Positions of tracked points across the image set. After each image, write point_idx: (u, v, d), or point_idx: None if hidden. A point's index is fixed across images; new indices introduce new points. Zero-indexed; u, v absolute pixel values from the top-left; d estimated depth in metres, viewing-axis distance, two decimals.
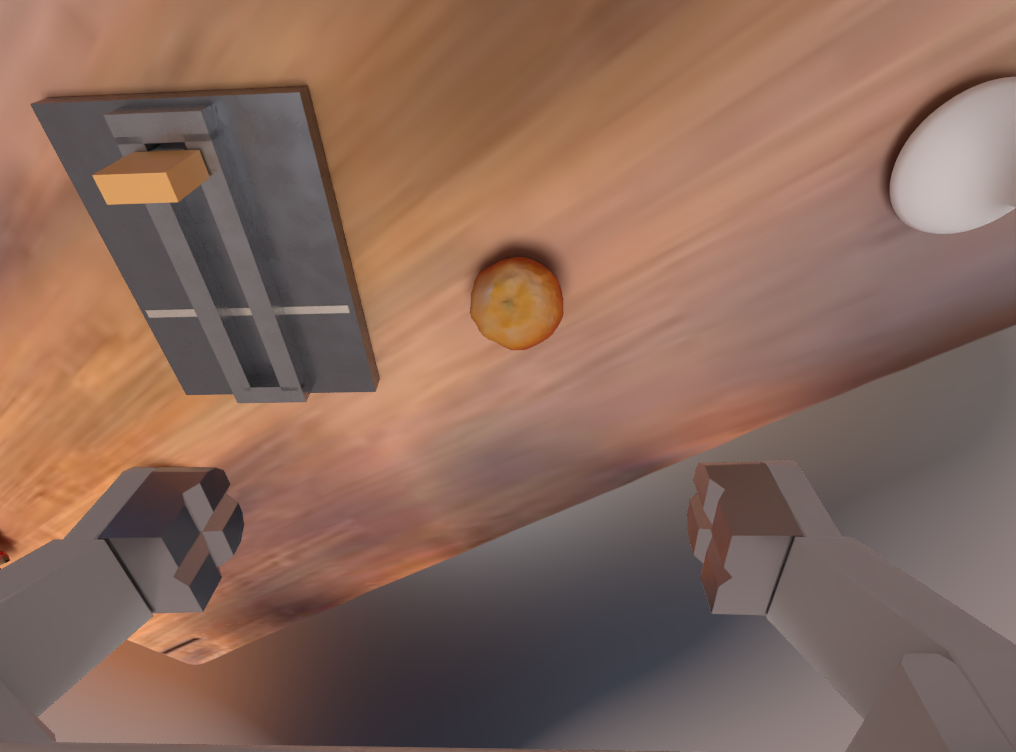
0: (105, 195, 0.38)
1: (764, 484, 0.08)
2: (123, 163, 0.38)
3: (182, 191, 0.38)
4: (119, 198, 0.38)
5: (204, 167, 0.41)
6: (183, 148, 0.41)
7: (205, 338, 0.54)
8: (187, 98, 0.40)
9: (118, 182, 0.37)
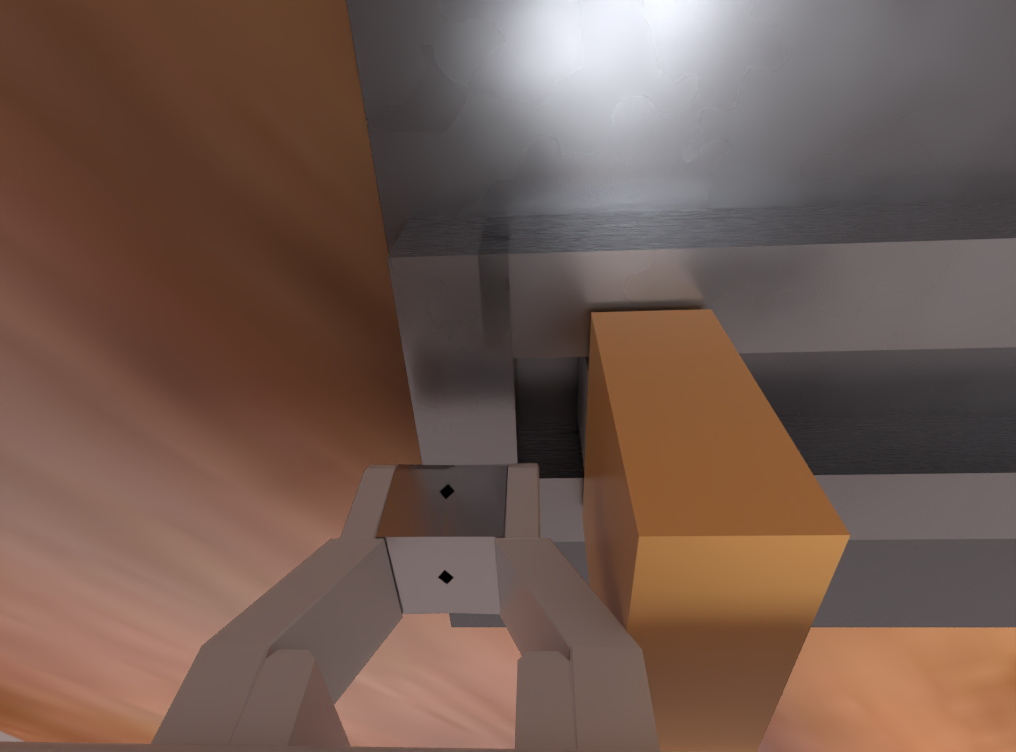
0: None
1: (495, 486, 0.09)
2: None
3: (773, 470, 0.06)
4: (734, 733, 0.07)
5: (664, 315, 0.09)
6: (586, 367, 0.11)
7: None
8: None
9: (657, 715, 0.07)
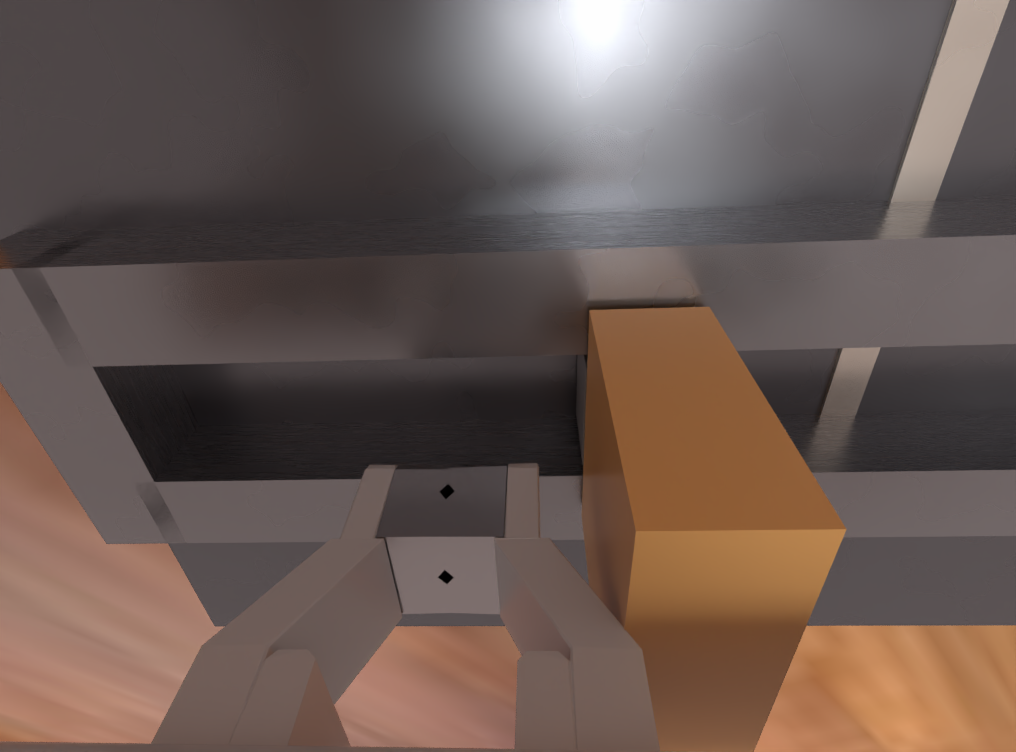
0: None
1: (495, 486, 0.09)
2: None
3: (770, 465, 0.06)
4: (733, 729, 0.08)
5: (662, 312, 0.09)
6: (585, 365, 0.11)
7: None
8: None
9: (656, 711, 0.07)
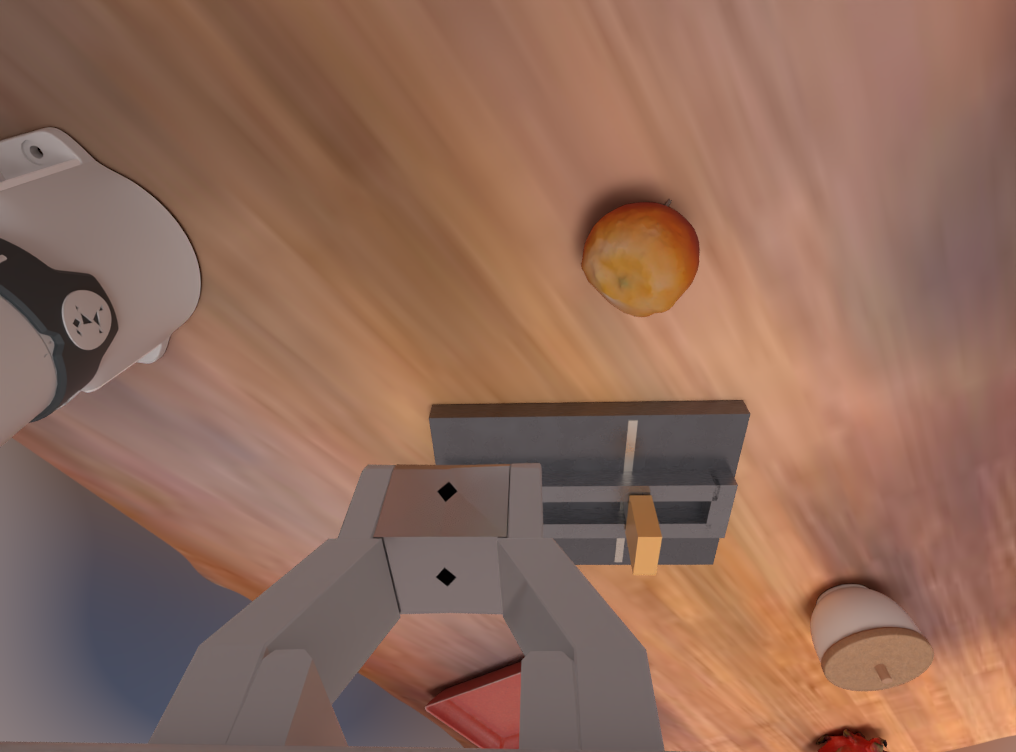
0: (649, 573, 0.49)
1: (497, 486, 0.09)
2: (630, 548, 0.51)
3: (655, 528, 0.48)
4: (652, 567, 0.49)
5: (642, 496, 0.51)
6: (627, 502, 0.52)
7: None
8: None
9: (640, 563, 0.49)
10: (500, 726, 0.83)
